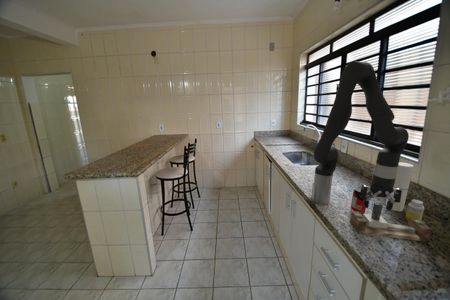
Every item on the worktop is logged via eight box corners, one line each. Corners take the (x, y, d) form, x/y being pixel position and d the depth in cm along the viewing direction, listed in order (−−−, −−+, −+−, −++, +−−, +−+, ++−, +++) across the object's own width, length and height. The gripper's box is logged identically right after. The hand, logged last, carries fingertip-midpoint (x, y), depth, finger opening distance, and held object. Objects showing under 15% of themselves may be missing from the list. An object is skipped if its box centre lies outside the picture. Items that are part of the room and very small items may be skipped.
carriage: (368, 226, 84) (372, 207, 81) (362, 218, 89) (365, 200, 87) (387, 228, 82) (391, 208, 80) (379, 220, 88) (383, 201, 85)
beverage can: (365, 215, 97) (369, 194, 94) (350, 211, 100) (354, 191, 97) (364, 209, 102) (367, 189, 99) (350, 206, 105) (353, 186, 102)
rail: (356, 232, 84) (359, 220, 83) (349, 221, 92) (351, 210, 90) (427, 241, 78) (431, 228, 77) (414, 229, 86) (417, 217, 84)
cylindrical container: (396, 212, 99) (407, 167, 93) (382, 205, 106) (391, 162, 99) (406, 210, 101) (417, 165, 95) (391, 203, 108) (401, 161, 101)
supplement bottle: (411, 216, 95) (416, 198, 93) (423, 223, 90) (429, 204, 88) (401, 217, 95) (406, 198, 92) (413, 224, 90) (418, 204, 87)
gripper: (369, 176, 78) (362, 211, 82) (410, 179, 74) (401, 215, 79) (361, 170, 85) (355, 202, 89) (398, 172, 81) (390, 205, 86)
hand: (376, 208), depth 84 cm, fingers open, 8 cm apart
